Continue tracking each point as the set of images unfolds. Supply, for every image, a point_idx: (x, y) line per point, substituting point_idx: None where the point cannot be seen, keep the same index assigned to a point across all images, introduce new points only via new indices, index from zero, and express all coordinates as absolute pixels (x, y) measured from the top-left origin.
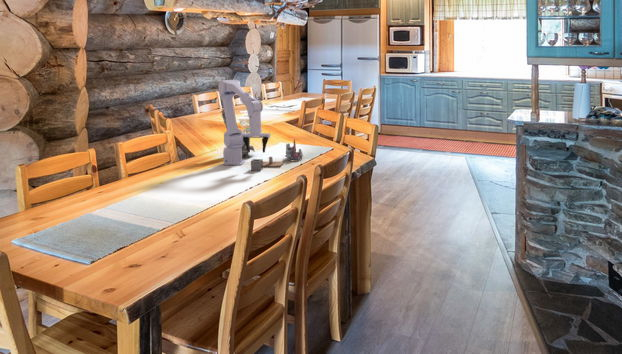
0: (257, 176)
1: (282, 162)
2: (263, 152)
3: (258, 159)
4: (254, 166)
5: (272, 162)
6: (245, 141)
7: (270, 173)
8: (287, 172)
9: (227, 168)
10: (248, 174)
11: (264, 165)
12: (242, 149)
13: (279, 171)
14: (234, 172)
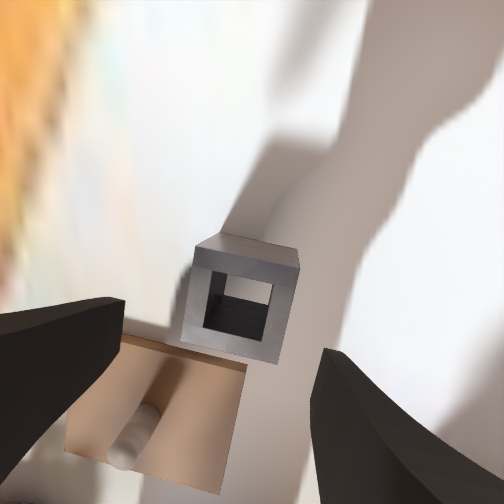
0: (241, 27)
1: (71, 430)
2: (116, 298)
3: (220, 340)
4: (265, 250)
5: (132, 416)
6: (489, 490)
7: (141, 135)
8: (20, 153)
9: (492, 381)
10: (319, 120)
11: (192, 362)
12: None
13: (80, 198)
14: (440, 219)
